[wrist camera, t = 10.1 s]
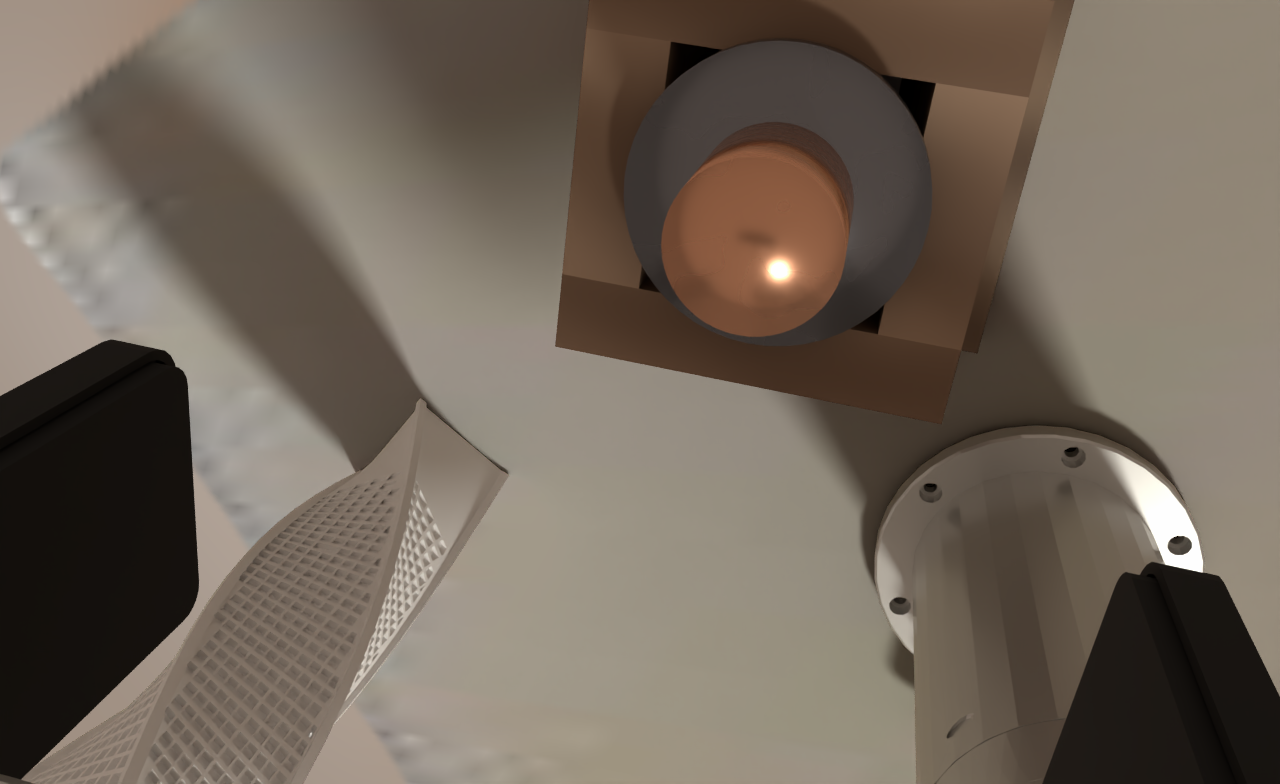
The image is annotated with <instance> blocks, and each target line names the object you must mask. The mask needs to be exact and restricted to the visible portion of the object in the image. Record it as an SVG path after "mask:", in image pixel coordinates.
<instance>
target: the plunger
mask: <svg viewBox="0 0 1280 784" xmlns="http://www.w3.org/2000/svg"><path fill="white" fill-rule="evenodd" d="M901 80H902V78H901V77H894V76H888V75H881V74H879V73H878V72H876V71H875V70H874V69H872V68H871V67H870V66H868V65H867V64H866V63H864V62H863V61H861V60H859V59H857V58H856V57H854V56H852V55H850V54H848V53H846V52H844V51H842V50H839V49H836V48H834V47H831V46H828V45H826V44H822V43H818V42H813V41H809V40H804V39H792V38H772V39H760V40H755V41H750V42H745V43H741V44H738V45H735V46H732V47H729V48H726V49H723V50H721V51H719V52H717V53H715V54H713V55H711V56H709V57H707V58H705V59H704V60H702V61H701V62H699V63H698V64H696V65H695V66H693V67H692V68H690V69H689V70H687V71H686V72H685V73H683V74H682V75H681V76H680V77H678V78H677V79H676V80H675V81H674V82H673V83H672V84H671V85H670V86H668V87H667V88H666V89H665V91H664V92H663V93H662V94H661V95H660V96H659V98H658V99H657V100H656V101H655V102H654V104H653V105H652V107H651V108H650V110H649V111H648V113H647V114H646V116H645V117H644V119H643V121H642V123H641V125H640V127H639V129H638V131H637V133H636V135H635V137H634V140H633V143H632V146H631V150H630V153H629V156H628V160H627V166H626V171H625V178H624V208H625V217H626V222H627V227H628V232H629V235H630V238H631V241H632V244H633V247H634V250H635V252H636V254H637V257H638V259H639V261H640V263H641V265H642V267H643V269H644V270H645V272H646V273H647V275H648V276H649V278H650V279H651V281H652V282H653V284H654V285H655V286H656V288H657V289H658V290H659V291H660V292H661V294H662V295H663V296H664V297H665V298H666V299H667V300H668V301H669V302H670V303H671V304H672V305H673V306H674V307H675V308H677V309H678V310H679V311H680V312H681V313H683V314H684V315H685V316H687V317H688V318H690V319H691V320H692V321H694V322H695V323H697V324H699V325H701V326H702V327H704V328H706V329H708V330H710V331H712V332H714V333H716V334H719V335H722V336H724V337H727V338H729V339H733V340H736V341H740V342H744V343H748V344H755V345H763V346H793V345H802V344H808V343H812V342H816V341H820V340H824V339H827V338H830V337H832V336H835V335H838V334H840V333H843V332H845V331H846V330H848V329H850V328H852V327H854V326H856V325H858V324H860V323H861V322H862V321H864V320H865V319H867V318H868V317H870V316H871V315H872V314H874V313H875V312H876V311H878V310H879V309H880V308H881V307H882V306H883V305H884V304H885V303H886V302H887V301H888V300H890V299H891V297H892V296H893V295H894V294H895V293H896V291H897V290H898V289H899V288H900V287H901V286H902V284H903V283H904V281H905V280H906V278H907V277H908V275H909V274H910V272H911V270H912V269H913V267H914V265H915V263H916V261H917V259H918V257H919V255H920V253H921V250H922V248H923V245H924V242H925V238H926V235H927V232H928V228H929V222H930V217H931V211H932V180H931V171H930V162H929V157H928V153H927V149H926V145H925V141H924V139H923V136H922V134H921V131H920V129H919V126H918V124H917V122H916V120H915V118H914V116H913V115H912V113H911V111H910V109H909V107H908V106H907V104H906V103H905V102H904V100H903V99H902V98H901V96H900V95H899V89H900V85H901Z"/></svg>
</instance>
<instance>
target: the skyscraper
mask: <svg viewBox="0 0 1280 784" xmlns="http://www.w3.org/2000/svg"><path fill="white" fill-rule="evenodd" d="M426 404H427V403H426V402H425V401H424V400H422V399H421V398H420V399H419V400H418V401H417V403H416V408H415V411H414V412H413V414H412V415H411V416H410V417H409V418H408V420H407V421H406V422H405V423H404V424H403V426H402V427H401V428H400V429H399V430H398V432H397V433H396V434H395V435H394V436H393V438H392V439H391V440H390V441H389V442H388V444H387V445H386V446H385V447H384V448H383V450H382V451H381V452H380V453H379V454H378V455H377V456H376V458H375V459H374V460H373V461H372V462H371V463H370V464H369V465H368V466H366V467H365V468H364V469H363V470H362V471H361V470H360V471H358V472H356V473H354V474H352V475H350V476H348V477H346V478H344V479H342V480H340V481H339V482H337V483H335V484H333V485H331V486H330V487H328V488H326V489H325V490H323V491H321V492H320V493H318V494H316V495H315V496H313V497H312V498H310V499H309V500H307V501H306V502H304V503H303V504H301V505H300V506H298V507H297V508H295V509H294V510H293V511H292V512H290V513H289V514H288V515H287V516H285V517H284V518H283V519H282V520H280V521H279V522H278V523H277V524H276V525H275V526H273V527H272V528H271V529H270V530H269V531H268V532H267V533H266V534H265V535H264V536H263V537H262V538H261V539H259V540H258V542H257V543H256V544H255V545H254V546H253V547H252V548H251V549H250V550H249V551H248V552H247V553H246V554H245V555H244V557H243V558H242V559H241V560H240V562H238V564H237V565H236V566H235V567H234V568H233V569H232V571H231V572H230V573H229V574H228V575H227V577H226V578H225V579H224V581H223V582H222V583H221V585H220V586H219V587H218V589H217V590H216V592H215V593H214V594H213V596H212V597H211V598H210V600H209V601H208V603H207V604H206V606H205V607H204V609H203V610H202V612H201V614H200V615H199V617H198V618H197V620H196V622H195V623H194V625H193V626H192V628H191V629H190V631H189V633H188V635H187V637H186V638H185V640H184V642H183V644H182V646H181V648H180V649H179V651H178V653H177V655H176V657H175V658H174V659H173V660H172V661H171V663H170V664H169V665H168V666H167V667H166V668H165V669H164V671H163V672H162V673H161V674H160V675H159V676H158V677H157V678H156V679H155V681H153V682H152V683H151V685H150V686H149V687H148V688H147V689H146V690H145V691H144V692H143V693H142V694H141V695H140V696H139V697H138V698H137V699H136V700H134V701H133V702H132V703H131V704H130V705H129V706H128V707H127V708H126V709H124V710H122V711H121V712H119V713H117V714H116V715H114V716H112V717H111V718H109V719H108V720H106V721H104V722H103V723H101V724H100V725H98V726H97V727H95V728H94V729H92V730H90V731H89V732H87V733H85V734H84V735H82V736H81V737H79V738H78V739H76V740H75V741H73V742H72V743H70V744H68V745H67V746H65V747H64V748H62V749H61V750H59V751H58V752H56V753H55V754H53V755H52V756H50V757H48V758H47V759H46V760H44V761H43V762H41V763H39V764H38V765H37V766H35V767H34V768H32V769H31V770H30V771H29V772H28V773H27V774H26V775H25V776H24V777H23V778H22V779H21V780H24V781H27V782H31V783H35V784H303V783H304V781H305V780H306V778H307V776H308V774H309V772H310V770H311V768H312V766H313V764H314V762H315V760H316V758H317V756H318V755H319V753H320V751H321V749H322V747H323V745H324V743H325V741H326V739H327V737H328V735H329V733H330V731H331V728H332V726H333V725H334V724H335V723H336V722H337V720H338V719H339V718H340V717H341V716H342V715H343V713H344V712H345V711H346V710H347V709H348V708H349V706H350V705H351V704H352V703H353V701H354V700H355V699H356V698H357V696H358V695H359V694H360V693H361V691H362V690H363V689H364V688H365V686H366V685H367V684H368V683H369V681H370V680H371V679H372V678H373V676H374V675H375V674H376V672H377V671H378V670H379V668H380V667H381V666H382V664H383V663H384V662H385V660H386V659H387V658H388V656H389V655H390V654H391V652H392V651H393V650H394V648H395V647H396V646H397V644H398V643H399V642H400V640H401V639H402V638H403V636H404V635H405V633H406V632H407V630H408V629H409V628H410V626H411V625H412V623H413V622H414V620H415V619H416V618H417V616H418V615H419V613H420V612H421V610H422V609H423V608H424V606H425V605H426V603H427V602H428V600H429V599H430V598H431V596H432V595H433V593H434V592H435V590H436V589H437V587H438V586H439V584H440V583H441V581H442V580H443V578H444V577H445V575H446V574H447V572H448V571H449V569H450V568H451V566H452V564H453V563H454V561H455V560H456V558H457V557H458V555H459V554H460V552H461V551H462V549H463V548H464V546H465V544H466V543H467V541H468V540H469V538H470V537H471V535H472V533H473V532H474V530H475V529H476V527H477V526H478V524H479V522H480V521H481V519H482V518H483V516H484V514H485V513H486V511H487V510H488V508H489V507H490V505H491V503H492V502H493V500H494V499H495V497H496V496H497V494H498V492H499V491H500V489H501V488H502V486H503V484H504V483H505V481H506V480H507V478H508V476H509V475H508V474H507V473H505V472H504V471H501V470H500V469H499V468H498V467H496V466H495V465H494V464H493V463H492V462H491V461H489V460H488V459H487V458H486V457H485V456H483V455H482V454H481V453H480V452H479V451H478V450H476V449H475V448H474V447H473V446H472V445H470V444H469V443H468V442H467V441H466V440H465V439H463V438H462V437H461V436H460V435H459V434H457V433H456V432H455V431H454V430H453V429H452V428H450V427H449V426H448V425H447V424H446V423H444V422H443V421H442V420H441V419H440V418H439V417H437V416H436V415H435V414H434V413H433V412H431V411H430V410H429V409H428V408H427V407H426Z"/></svg>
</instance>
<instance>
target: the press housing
mask: <svg viewBox="0 0 1280 784" xmlns="http://www.w3.org/2000/svg"><path fill="white" fill-rule="evenodd" d="M1073 4H1074V0H589V7H588V17H587V27H586V37H585V48H584V58H583V68H582V78H581V89H580V99H579V109H578V119H577V130H576V140H575V150H574V160H573V170H572V181H571V191H570V201H569V211H568V222H567V232H566V242H565V252H564V263H563V273H562V283H561V293H560V304H559V314H558V324H557V334H556V345H555V346H556V347H561V348H566V349H571V350H575V351H580V352H585V353H590V354H595V355H600V356H605V357H610V358H615V359H620V360H625V361H630V362H635V363H640V364H645V365H650V366H655V367H660V368H665V369H670V370H675V371H680V372H685V373H690V374H695V375H700V376H705V377H709V378H714V379H719V380H724V381H729V382H734V383H739V384H744V385H749V386H754V387H759V388H764V389H769V390H774V391H779V392H784V393H789V394H794V395H799V396H804V397H809V398H814V399H819V400H824V401H829V402H834V403H839V404H844V405H848V406H853V407H858V408H863V409H868V410H873V411H878V412H883V413H888V414H893V415H898V416H903V417H908V418H913V419H918V420H923V421H928V422H933V423H938V424H942V420H943V416H944V413H945V409H946V405H947V401H948V398H949V394H950V390H951V386H952V383H953V379H954V375H955V372H956V368H957V364H958V360H959V357H960V353H961V350H962V351H967V352H973V353H978V349H979V346H980V342H981V338H982V335H983V331H984V327H985V324H986V320H987V317H988V313H989V309H990V306H991V302H992V298H993V295H994V291H995V287H996V284H997V280H998V277H999V273H1000V269H1001V266H1002V262H1003V258H1004V255H1005V251H1006V247H1007V244H1008V240H1009V237H1010V233H1011V229H1012V226H1013V222H1014V218H1015V215H1016V211H1017V207H1018V204H1019V200H1020V197H1021V193H1022V189H1023V186H1024V182H1025V178H1026V175H1027V171H1028V167H1029V164H1030V160H1031V157H1032V153H1033V149H1034V146H1035V142H1036V138H1037V135H1038V131H1039V127H1040V124H1041V120H1042V117H1043V113H1044V109H1045V106H1046V102H1047V98H1048V95H1049V91H1050V87H1051V84H1052V80H1053V77H1054V73H1055V69H1056V66H1057V62H1058V58H1059V55H1060V51H1061V48H1062V44H1063V40H1064V37H1065V33H1066V29H1067V26H1068V22H1069V18H1070V15H1071V11H1072V8H1073ZM772 38H792V39H804V40H809V41H813V42H818V43H822V44H826V45H828V46H831V47H834V48H836V49H839V50H842V51H844V52H846V53H848V54H850V55H852V56H854V57H856V58H857V59H859V60H861V61H863V62H864V63H866V64H867V65H868V66H870V67H871V68H872V69H874V70H875V71H876V72H878V73H879V74H881V75H888V76H894V77H901V78H902V80H901V85H900V89H899V95H900V96H901V98H902V99H903V100H904V102H905V103H906V104H907V106H908V107H909V109H910V111H911V113H912V115H913V116H914V118H915V120H916V122H917V124H918V126H919V129H920V131H921V134H922V136H923V139H924V141H925V145H926V149H927V153H928V157H929V162H930V171H931V180H932V211H931V217H930V222H929V228H928V232H927V235H926V238H925V242H924V245H923V248H922V250H921V253H920V255H919V257H918V259H917V261H916V263H915V265H914V267H913V269H912V270H911V272H910V274H909V275H908V277H907V278H906V280H905V281H904V283H903V284H902V286H901V287H900V288H899V289H898V290H897V291H896V293H895V294H894V295H893V296H892V297H891V299H890V300H888V301H887V302H886V303H885V304H884V305H883V306H882V307H881V308H880V309H879V310H878V311H876V312H875V313H874V314H872V315H871V316H870V317H868V318H867V319H865V320H864V321H862V322H861V323H860V324H858V325H856V326H854V327H852V328H850V329H848V330H846V331H845V332H843V333H840V334H838V335H835V336H832V337H830V338H827V339H824V340H820V341H816V342H812V343H808V344H802V345H793V346H763V345H755V344H748V343H744V342H740V341H736V340H733V339H729V338H727V337H724V336H722V335H719V334H716V333H714V332H712V331H710V330H708V329H706V328H704V327H702V326H701V325H699V324H697V323H695V322H694V321H692V320H691V319H690V318H688V317H687V316H685V315H684V314H683V313H681V312H680V311H679V310H678V309H677V308H675V307H674V306H673V305H672V304H671V303H670V302H669V301H668V300H667V299H666V298H665V297H664V296H663V295H662V294H661V292H660V291H659V290H658V289H657V288H656V286H655V285H654V284H653V282H652V281H651V279H650V278H649V276H648V275H647V273H646V272H645V270H644V269H643V267H642V265H641V263H640V261H639V259H638V257H637V254H636V252H635V250H634V247H633V244H632V241H631V238H630V235H629V232H628V227H627V222H626V217H625V208H624V178H625V171H626V166H627V160H628V156H629V153H630V150H631V146H632V143H633V140H634V137H635V135H636V133H637V131H638V129H639V127H640V125H641V123H642V121H643V119H644V117H645V116H646V114H647V113H648V111H649V110H650V108H651V107H652V105H653V104H654V102H655V101H656V100H657V99H658V98H659V96H660V95H661V94H662V93H663V92H664V91H665V89H666V88H667V87H668V86H670V85H671V84H672V83H673V82H674V81H675V80H676V79H677V78H678V77H680V76H681V75H682V74H683V73H685V72H686V71H687V70H689V69H690V68H692V67H693V66H695V65H696V64H698V63H699V62H701V61H702V60H704V59H705V58H707V57H709V56H711V55H713V54H715V53H717V52H719V51H721V50H723V49H726V48H729V47H732V46H735V45H738V44H741V43H745V42H750V41H755V40H760V39H772Z"/></svg>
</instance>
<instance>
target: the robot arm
mask: <svg viewBox="0 0 1280 784" xmlns="http://www.w3.org/2000/svg"><path fill="white" fill-rule="evenodd" d="M1070 447H1077V448H1076V450H1075V451H1073V452H1066V451H1064V450H1066V449H1068V448H1070ZM927 483H934V484H936V485H935V486H933V487H927V486H925V484H927ZM1175 536H1179V537H1177V538H1173V537H1175ZM874 564H875V576H874V579H875V584H876V589H877V593H878V598H879V603H880V605H881V607H882V610H883V612H884V614H885V616H886V619H887V621H888V623H889V625H890V627H891V628H892V630H893V631H894V633H895V634H896V635H897V637H898V638H899V639H900V641H901V642H902V644H903V645H904V646H905V647H906V648H907V649H908V650H909V651H910V652H911V653H912V654H913V655H914V688H915V742H916V784H1280V696H1279V694H1278V692H1277V690H1276V688H1275V686H1274V684H1273V682H1272V680H1271V678H1270V676H1269V674H1268V672H1267V670H1266V668H1265V666H1264V663H1263V661H1262V659H1261V657H1260V655H1259V653H1258V651H1257V649H1256V647H1255V645H1254V643H1253V641H1252V639H1251V637H1250V635H1249V633H1248V631H1247V629H1246V627H1245V625H1244V623H1243V621H1242V618H1241V616H1240V614H1239V612H1238V610H1237V608H1236V606H1235V604H1234V602H1233V600H1232V598H1231V596H1230V594H1229V592H1228V590H1227V588H1226V586H1225V584H1224V582H1223V581H1222V579H1221V578H1220V577H1219V576H1216V575H1212V574H1208V573H1204V570H1205V557H1204V553H1203V548H1202V543H1201V538H1200V534H1199V531H1198V529H1197V526H1196V524H1195V522H1194V520H1193V517H1192V515H1191V513H1190V511H1189V509H1188V507H1187V506H1186V504H1185V502H1184V501H1183V499H1182V498H1181V496H1180V494H1179V493H1178V491H1177V490H1176V488H1175V486H1174V485H1173V484H1172V483H1171V482H1170V481H1169V480H1168V479H1167V478H1166V477H1165V476H1164V475H1163V474H1162V473H1161V472H1160V471H1159V470H1158V469H1157V468H1156V467H1155V466H1154V465H1153V464H1151V463H1150V462H1148V461H1147V460H1146V459H1144V458H1143V457H1141V456H1140V455H1138V454H1137V453H1135V452H1134V451H1132V450H1131V449H1129V448H1128V447H1125V446H1123V445H1121V444H1118V443H1116V442H1114V441H1112V440H1109V439H1107V438H1105V437H1102V436H1100V435H1096V434H1092V433H1088V432H1084V431H1080V430H1076V429H1072V428H1067V427H1053V426H1039V425H1033V426H1022V427H1011V428H1002V429H998V430H995V431H991V432H987V433H983V434H979V435H976V436H972V437H970V438H968V439H966V440H963V441H961V442H959V443H957V444H955V445H952V446H950V447H948V448H946V449H944V450H943V451H941V452H940V453H938V454H937V455H935V456H934V457H932V458H931V459H930V460H928V461H927V462H925V463H924V464H922V465H921V466H920V467H919V468H918V469H917V470H916V471H915V472H914V473H913V474H912V475H911V476H910V477H909V478H908V479H907V480H906V481H905V482H904V483H903V484H902V485H901V486H900V488H899V490H898V491H897V493H896V494H895V496H894V497H893V499H892V500H891V502H890V504H889V505H888V507H887V508H886V511H885V514H884V516H883V519H882V522H881V524H880V527H879V530H878V534H877V541H876V548H875V556H874ZM198 589H199V574H198V557H197V540H196V522H195V505H194V487H193V469H192V451H191V434H190V416H189V399H188V384H187V378H186V376H185V374H184V372H183V371H182V370H181V369H180V368H178V367H175V363H174V361H173V359H172V357H171V355H169V354H168V353H167V352H166V351H164V350H159V349H154V348H150V347H145V346H140V345H136V344H131V343H126V342H122V341H117V340H108V341H104V342H102V343H100V344H98V345H96V346H94V347H92V348H91V349H88V350H87V351H85V352H83V353H81V354H79V355H77V356H75V357H73V358H71V359H69V360H68V361H66V362H64V363H62V364H60V365H58V366H56V367H54V368H52V369H51V370H49V371H47V372H45V373H43V374H41V375H39V376H37V377H35V378H33V379H32V380H30V381H28V382H26V383H24V384H22V385H20V386H18V387H17V388H15V389H13V390H11V391H9V392H7V393H5V394H3V395H2V396H0V784H35V783H31V782H27V781H24V780H21V779H22V778H23V777H24V776H25V775H26V774H27V773H28V772H29V771H30V770H31V769H32V768H33V767H34V766H35V765H36V764H37V763H38V762H39V761H40V760H41V759H42V758H43V757H45V756H46V754H48V753H49V752H50V751H51V750H52V749H53V748H54V747H55V746H56V745H57V744H58V743H59V742H60V741H61V740H62V739H63V738H64V737H65V736H66V735H67V734H68V733H69V732H70V731H71V730H72V729H73V728H74V727H75V726H76V725H77V724H78V723H79V722H80V721H81V720H82V719H83V718H84V717H85V716H86V715H88V714H89V713H90V711H92V710H93V709H94V708H95V707H96V706H97V705H98V704H99V703H100V702H101V701H102V700H103V699H104V698H105V697H106V696H107V695H108V694H109V693H110V692H111V691H112V690H113V689H114V688H115V687H116V686H117V685H118V684H119V683H120V682H121V681H122V680H123V679H124V678H125V677H126V676H127V675H128V674H129V673H130V672H132V670H134V669H135V668H136V666H137V665H139V664H140V663H141V662H142V661H143V660H144V659H145V658H146V657H147V656H148V655H149V654H150V653H151V652H152V651H153V650H154V649H155V648H156V647H157V646H158V645H159V644H160V643H161V642H162V641H163V640H164V639H165V638H166V637H167V636H168V635H169V634H170V633H172V632H173V631H174V630H175V629H176V628H177V627H178V625H180V624H181V623H182V622H183V621H184V620H185V618H186V617H187V616H188V615H189V613H190V612H191V610H192V608H193V606H194V604H195V601H196V598H197V594H198ZM897 597H903V598H897Z"/></svg>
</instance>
